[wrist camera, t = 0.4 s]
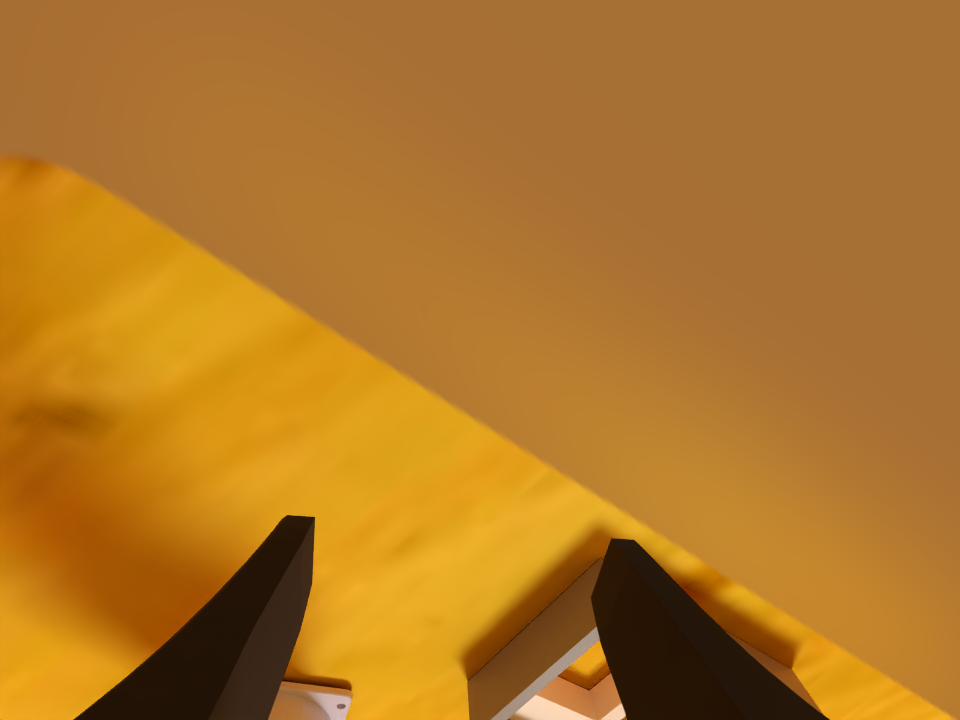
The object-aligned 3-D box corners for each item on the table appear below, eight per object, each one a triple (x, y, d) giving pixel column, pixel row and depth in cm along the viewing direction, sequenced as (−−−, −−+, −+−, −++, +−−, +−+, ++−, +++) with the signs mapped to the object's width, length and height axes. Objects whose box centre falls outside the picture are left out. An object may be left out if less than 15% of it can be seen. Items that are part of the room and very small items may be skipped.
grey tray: (792, 669, 31) (827, 719, 28) (662, 763, 34) (682, 816, 31) (600, 558, 25) (620, 606, 23) (467, 681, 28) (470, 737, 26)
